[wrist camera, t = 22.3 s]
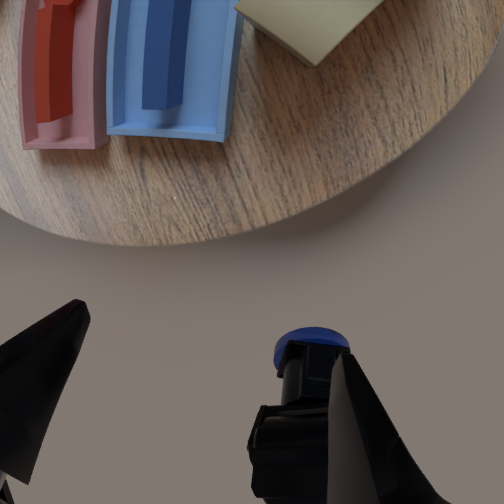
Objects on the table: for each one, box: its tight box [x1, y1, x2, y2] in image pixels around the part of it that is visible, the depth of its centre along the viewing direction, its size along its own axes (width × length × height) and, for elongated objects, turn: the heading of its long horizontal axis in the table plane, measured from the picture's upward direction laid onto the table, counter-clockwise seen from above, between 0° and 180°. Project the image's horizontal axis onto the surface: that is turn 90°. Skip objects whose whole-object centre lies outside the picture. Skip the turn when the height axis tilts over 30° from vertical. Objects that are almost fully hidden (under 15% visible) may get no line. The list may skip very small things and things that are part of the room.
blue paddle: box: [142, 0, 192, 110], centre depth 12 cm, size 12×4×2 cm, turn 174°
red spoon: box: [34, 0, 83, 123], centre depth 13 cm, size 12×4×2 cm, turn 174°
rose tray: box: [18, 0, 112, 150], centre depth 14 cm, size 15×8×2 cm, turn 174°
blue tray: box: [106, 0, 243, 142], centre depth 13 cm, size 15×8×2 cm, turn 174°
